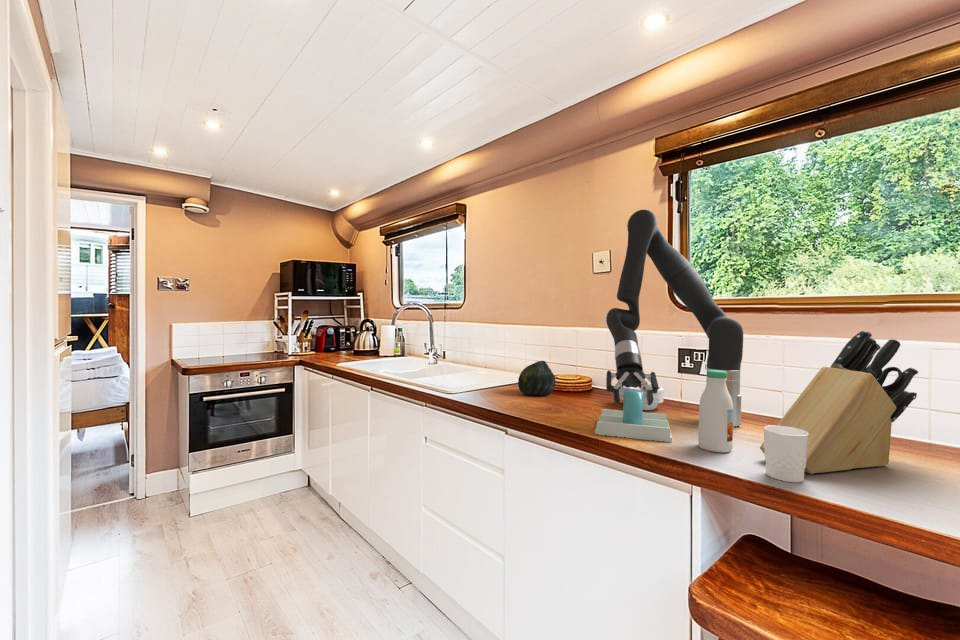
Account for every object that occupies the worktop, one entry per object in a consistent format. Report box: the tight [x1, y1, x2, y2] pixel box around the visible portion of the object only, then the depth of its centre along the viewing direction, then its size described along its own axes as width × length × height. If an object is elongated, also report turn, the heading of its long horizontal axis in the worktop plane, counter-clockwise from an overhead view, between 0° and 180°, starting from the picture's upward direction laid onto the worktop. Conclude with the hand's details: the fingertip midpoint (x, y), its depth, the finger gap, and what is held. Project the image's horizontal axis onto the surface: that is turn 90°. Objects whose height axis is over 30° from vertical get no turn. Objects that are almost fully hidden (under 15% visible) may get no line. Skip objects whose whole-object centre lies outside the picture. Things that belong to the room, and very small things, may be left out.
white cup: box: [763, 425, 809, 483], centre depth 94 cm, size 8×8×10 cm
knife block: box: [759, 329, 919, 475], centre depth 104 cm, size 11×35×31 cm, turn 105°
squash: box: [517, 360, 556, 397], centre depth 181 cm, size 14×15×15 cm
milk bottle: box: [697, 369, 734, 454], centre depth 113 cm, size 8×8×20 cm
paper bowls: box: [619, 383, 664, 411], centre depth 160 cm, size 15×15×8 cm
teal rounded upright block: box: [622, 390, 644, 425], centre depth 126 cm, size 5×5×11 cm
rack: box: [594, 408, 673, 443], centre depth 129 cm, size 20×17×4 cm
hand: (634, 403), depth 125 cm, fingers open, 8 cm apart
